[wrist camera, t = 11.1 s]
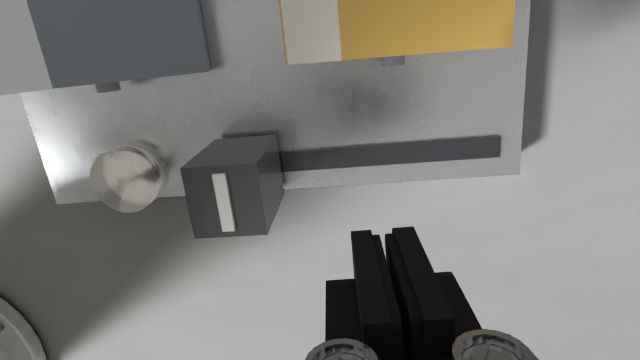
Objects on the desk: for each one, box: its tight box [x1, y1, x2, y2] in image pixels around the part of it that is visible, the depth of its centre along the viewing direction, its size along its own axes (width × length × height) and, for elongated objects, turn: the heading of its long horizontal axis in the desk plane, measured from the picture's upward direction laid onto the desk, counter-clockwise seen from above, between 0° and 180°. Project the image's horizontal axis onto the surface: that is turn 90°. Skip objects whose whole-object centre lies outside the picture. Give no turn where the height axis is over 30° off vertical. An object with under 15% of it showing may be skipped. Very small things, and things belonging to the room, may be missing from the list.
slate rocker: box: [0, 0, 211, 95], centre depth 18 cm, size 4×9×1 cm, turn 96°
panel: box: [20, 0, 531, 213], centre depth 20 cm, size 10×24×4 cm, turn 96°
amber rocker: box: [278, 0, 515, 67], centre depth 17 cm, size 4×9×1 cm, turn 96°
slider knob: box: [180, 135, 284, 238], centre depth 19 cm, size 3×3×5 cm
